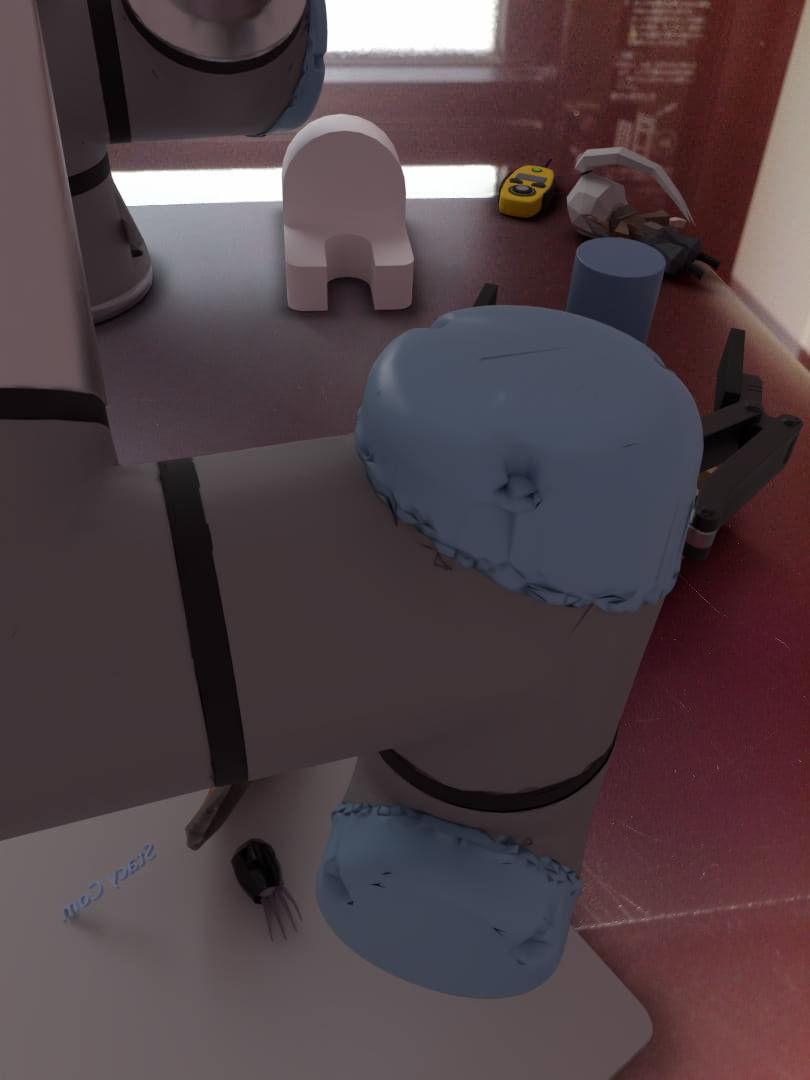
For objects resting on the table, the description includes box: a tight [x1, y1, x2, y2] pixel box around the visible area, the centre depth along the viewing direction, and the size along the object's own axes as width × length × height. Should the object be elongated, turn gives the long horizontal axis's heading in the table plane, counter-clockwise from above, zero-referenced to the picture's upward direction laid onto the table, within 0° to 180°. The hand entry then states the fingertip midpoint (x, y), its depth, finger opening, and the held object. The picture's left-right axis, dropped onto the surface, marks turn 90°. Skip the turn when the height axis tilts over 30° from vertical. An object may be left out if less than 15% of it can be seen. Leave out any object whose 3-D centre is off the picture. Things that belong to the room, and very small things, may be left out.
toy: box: [566, 146, 721, 281], centre depth 78 cm, size 11×8×15 cm
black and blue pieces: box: [62, 838, 302, 942], centre depth 34 cm, size 10×3×2 cm, turn 88°
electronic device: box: [0, 756, 654, 1080], centre depth 36 cm, size 29×20×2 cm
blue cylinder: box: [564, 237, 666, 346], centre depth 50 cm, size 4×4×14 cm
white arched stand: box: [281, 113, 415, 312], centre depth 74 cm, size 10×18×11 cm, turn 7°
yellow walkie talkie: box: [497, 158, 556, 219], centre depth 89 cm, size 5×2×15 cm
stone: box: [185, 780, 254, 851], centre depth 37 cm, size 9×2×3 cm
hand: (607, 327), depth 52 cm, fingers open, 13 cm apart
